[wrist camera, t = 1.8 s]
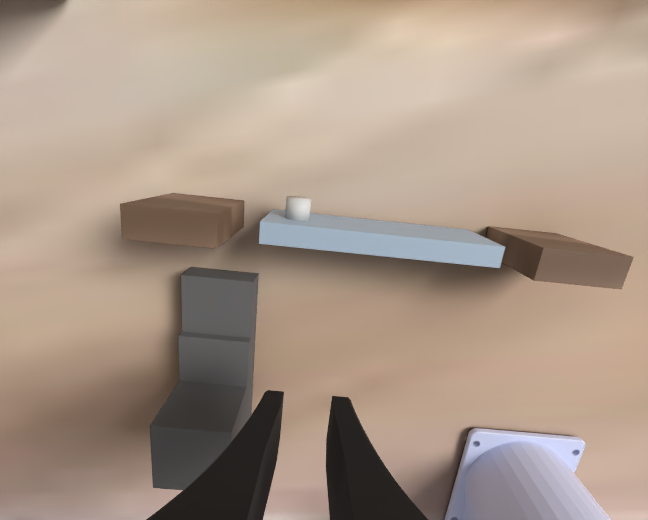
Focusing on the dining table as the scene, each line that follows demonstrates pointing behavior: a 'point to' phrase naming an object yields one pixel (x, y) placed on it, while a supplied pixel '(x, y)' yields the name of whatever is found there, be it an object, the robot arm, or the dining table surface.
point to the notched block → (207, 376)
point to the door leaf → (375, 237)
